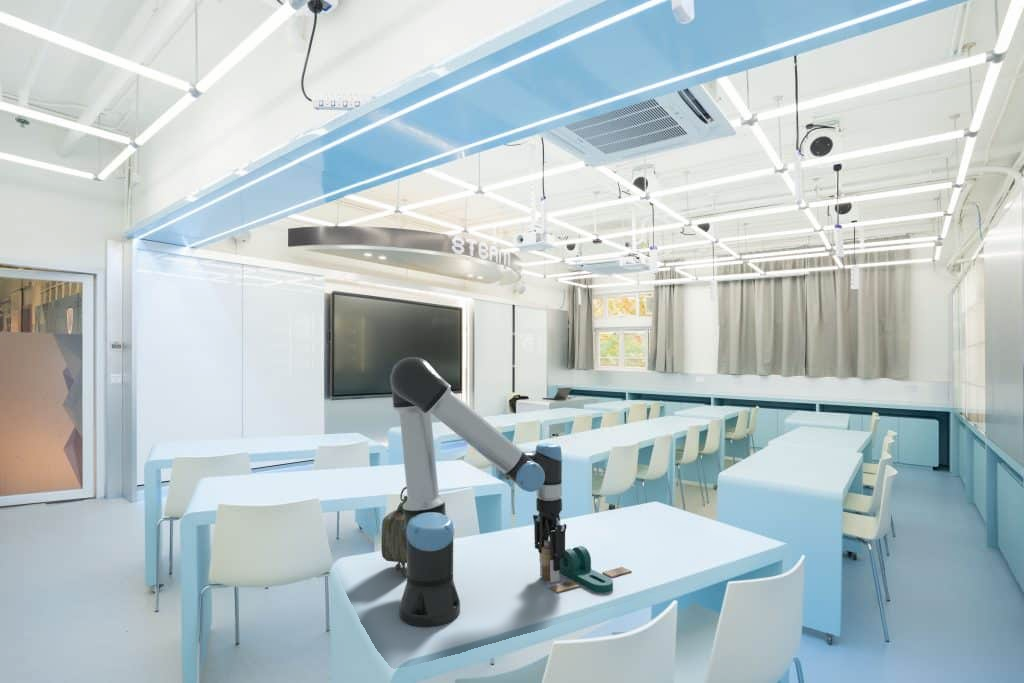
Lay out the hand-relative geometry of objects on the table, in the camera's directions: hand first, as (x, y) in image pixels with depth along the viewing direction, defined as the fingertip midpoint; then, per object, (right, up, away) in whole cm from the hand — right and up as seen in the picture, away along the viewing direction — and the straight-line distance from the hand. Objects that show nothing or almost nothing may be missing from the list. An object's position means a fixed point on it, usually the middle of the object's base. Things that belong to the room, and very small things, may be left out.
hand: (549, 578), depth 157 cm
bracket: (+11, -1, -1) cm, 11 cm away
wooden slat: (+12, 0, -1) cm, 12 cm away
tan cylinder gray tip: (0, 0, 0) cm, 0 cm away
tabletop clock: (-44, -1, +8) cm, 45 cm away
